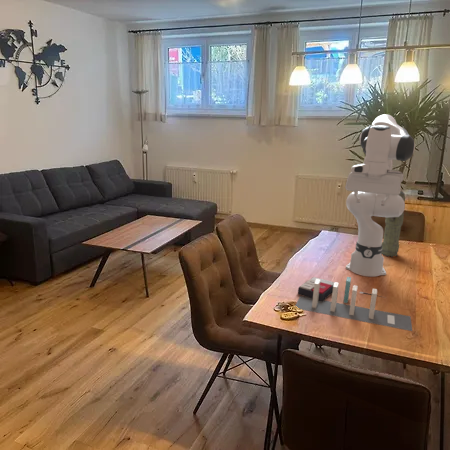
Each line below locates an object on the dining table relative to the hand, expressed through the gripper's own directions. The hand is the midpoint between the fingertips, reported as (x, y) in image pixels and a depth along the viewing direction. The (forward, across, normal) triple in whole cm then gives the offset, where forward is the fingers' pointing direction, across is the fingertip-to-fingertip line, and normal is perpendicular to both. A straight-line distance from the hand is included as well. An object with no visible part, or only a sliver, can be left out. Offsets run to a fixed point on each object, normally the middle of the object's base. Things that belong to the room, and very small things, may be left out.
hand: (370, 204), depth 164 cm
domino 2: (+39, +8, +16) cm, 43 cm away
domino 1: (+39, +15, +16) cm, 45 cm away
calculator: (+40, +16, +3) cm, 43 cm away
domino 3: (+40, +4, +6) cm, 41 cm away
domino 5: (+39, -6, +16) cm, 43 cm away
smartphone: (+40, -8, -2) cm, 41 cm away
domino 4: (+39, +1, +16) cm, 42 cm away
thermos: (+39, -13, -68) cm, 80 cm away
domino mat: (+40, +1, +16) cm, 43 cm away
